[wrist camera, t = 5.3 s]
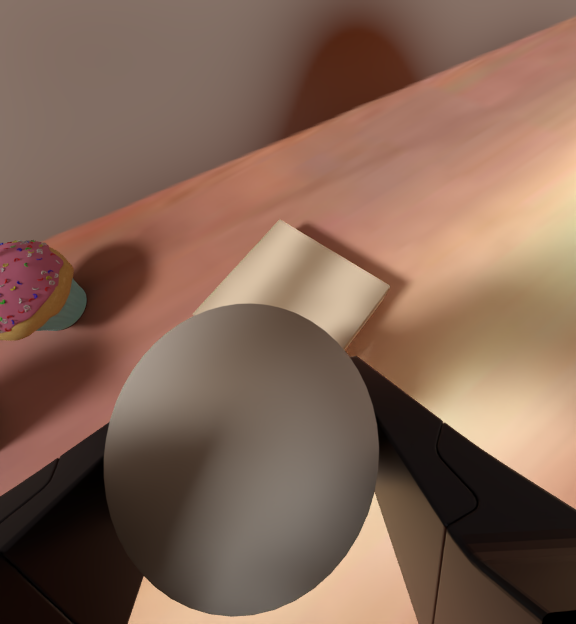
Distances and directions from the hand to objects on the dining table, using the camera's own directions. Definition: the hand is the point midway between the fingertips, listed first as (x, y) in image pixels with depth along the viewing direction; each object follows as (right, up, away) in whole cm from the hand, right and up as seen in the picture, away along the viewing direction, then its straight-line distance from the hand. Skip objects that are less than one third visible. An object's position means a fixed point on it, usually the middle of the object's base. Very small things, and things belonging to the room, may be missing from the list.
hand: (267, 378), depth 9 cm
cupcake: (-21, +2, +19) cm, 28 cm away
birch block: (+1, +2, +16) cm, 16 cm away
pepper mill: (+1, -4, +6) cm, 7 cm away
